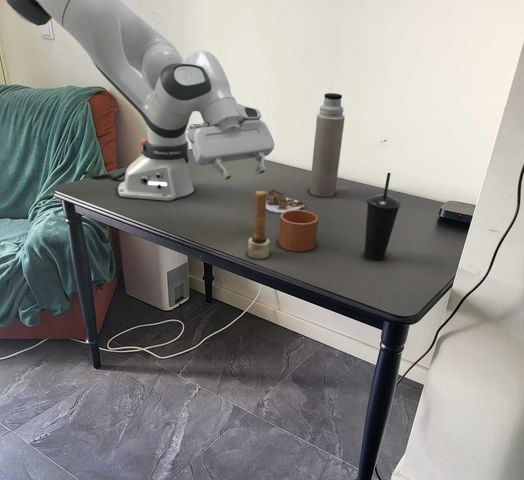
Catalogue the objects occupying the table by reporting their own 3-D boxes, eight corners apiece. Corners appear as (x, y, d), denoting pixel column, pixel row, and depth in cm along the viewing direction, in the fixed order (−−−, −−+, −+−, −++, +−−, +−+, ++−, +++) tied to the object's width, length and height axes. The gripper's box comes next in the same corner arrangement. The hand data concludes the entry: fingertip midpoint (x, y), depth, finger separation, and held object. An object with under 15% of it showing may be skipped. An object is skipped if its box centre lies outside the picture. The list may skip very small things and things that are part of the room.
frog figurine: (254, 206, 149) (254, 193, 147) (277, 196, 157) (277, 183, 155) (287, 216, 144) (288, 203, 142) (309, 205, 152) (310, 192, 150)
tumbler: (280, 251, 125) (282, 224, 121) (277, 235, 133) (278, 209, 129) (318, 251, 126) (321, 224, 122) (312, 236, 134) (314, 210, 130)
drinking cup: (355, 249, 128) (367, 167, 116) (384, 249, 129) (400, 168, 117) (362, 263, 122) (376, 178, 110) (393, 263, 123) (411, 179, 111)
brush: (244, 255, 123) (246, 193, 114) (253, 248, 126) (255, 187, 118) (263, 260, 121) (266, 197, 112) (272, 252, 125) (275, 191, 116)
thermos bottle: (310, 187, 165) (319, 90, 148) (335, 189, 164) (347, 92, 148) (309, 195, 158) (318, 95, 142) (335, 197, 158) (348, 97, 141)
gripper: (187, 116, 113) (210, 174, 112) (265, 109, 122) (286, 162, 122) (179, 133, 118) (201, 188, 118) (254, 125, 128) (274, 176, 127)
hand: (245, 175), depth 120 cm, fingers open, 8 cm apart
